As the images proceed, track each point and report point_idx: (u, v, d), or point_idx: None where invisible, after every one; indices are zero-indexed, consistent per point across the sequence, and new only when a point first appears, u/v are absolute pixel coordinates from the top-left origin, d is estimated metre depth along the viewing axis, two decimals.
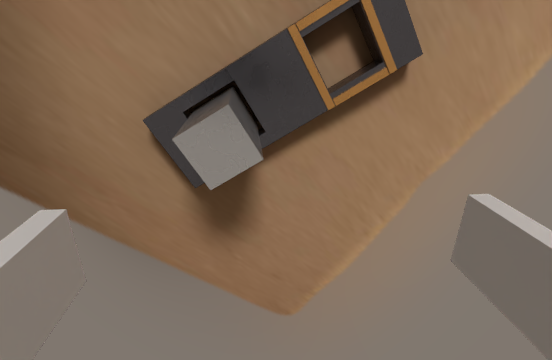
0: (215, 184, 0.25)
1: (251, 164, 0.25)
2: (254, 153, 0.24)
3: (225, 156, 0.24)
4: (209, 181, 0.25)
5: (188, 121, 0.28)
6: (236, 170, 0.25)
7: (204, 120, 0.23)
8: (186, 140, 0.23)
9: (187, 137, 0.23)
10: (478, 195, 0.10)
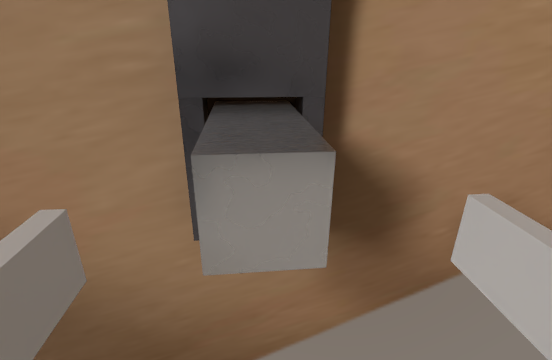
0: (321, 255, 0.13)
1: (329, 178, 0.11)
2: (311, 161, 0.11)
3: (283, 214, 0.12)
4: (309, 260, 0.13)
5: None
6: (322, 210, 0.12)
7: (198, 211, 0.11)
8: (218, 257, 0.12)
9: (214, 253, 0.12)
10: (478, 195, 0.10)
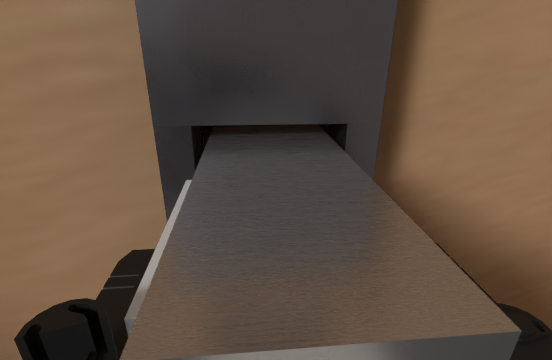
0: None
1: None
2: (453, 354, 0.04)
3: None
4: None
5: None
6: None
7: None
8: None
9: None
10: None
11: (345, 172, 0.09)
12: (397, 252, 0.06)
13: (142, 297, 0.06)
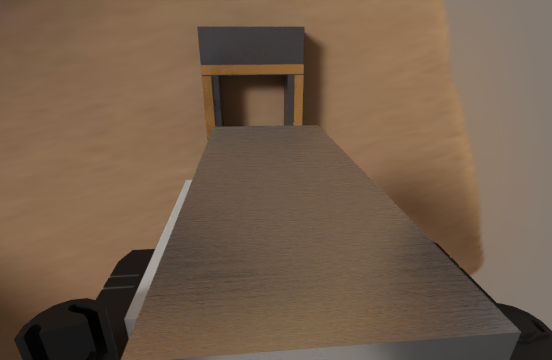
0: None
1: None
2: (453, 355, 0.04)
3: None
4: None
5: None
6: None
7: None
8: None
9: None
10: None
11: (345, 173, 0.09)
12: (397, 253, 0.06)
13: (142, 297, 0.06)
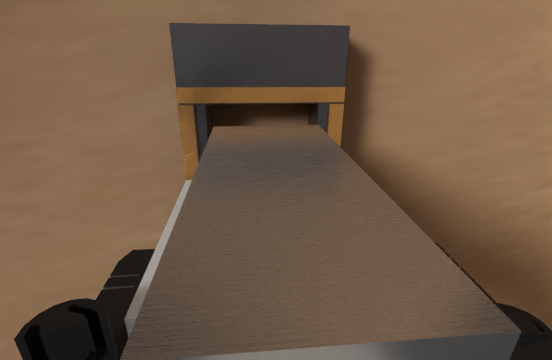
0: None
1: None
2: (453, 355, 0.04)
3: None
4: None
5: None
6: None
7: None
8: None
9: None
10: None
11: (345, 172, 0.09)
12: (397, 252, 0.06)
13: (142, 297, 0.06)
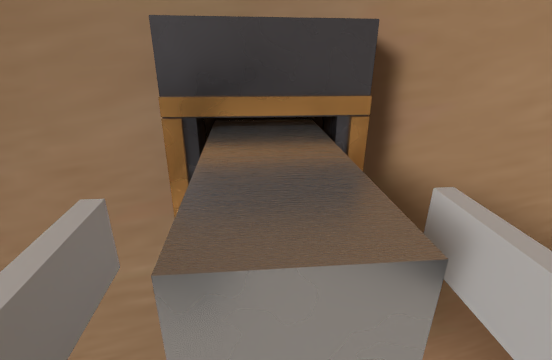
0: None
1: (429, 305, 0.06)
2: (398, 278, 0.05)
3: None
4: None
5: None
6: (407, 354, 0.06)
7: None
8: None
9: None
10: (443, 188, 0.11)
11: (331, 156, 0.11)
12: (365, 212, 0.07)
13: None
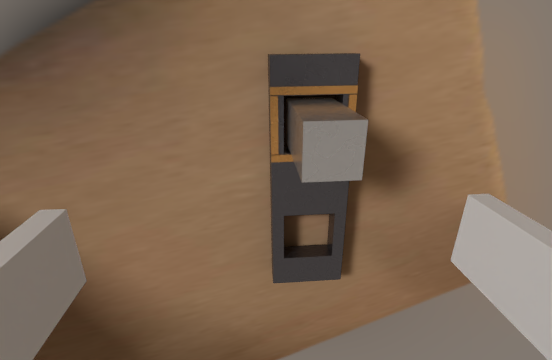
0: (360, 173, 0.25)
1: (365, 133, 0.24)
2: (357, 124, 0.24)
3: (342, 150, 0.25)
4: (354, 175, 0.25)
5: (294, 157, 0.29)
6: (360, 148, 0.25)
7: (303, 148, 0.24)
8: (310, 172, 0.25)
9: (308, 170, 0.25)
10: (478, 195, 0.10)
11: (340, 107, 0.29)
12: (350, 115, 0.25)
13: None
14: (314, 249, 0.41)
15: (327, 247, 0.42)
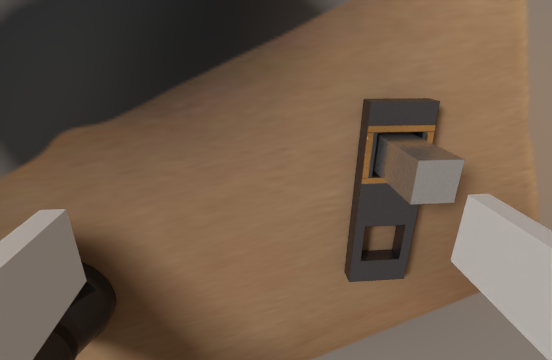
0: (453, 197, 0.34)
1: (461, 168, 0.33)
2: (456, 162, 0.32)
3: (443, 181, 0.33)
4: (448, 199, 0.34)
5: (392, 182, 0.38)
6: (456, 180, 0.33)
7: (415, 179, 0.33)
8: (417, 197, 0.34)
9: (416, 195, 0.33)
10: (478, 195, 0.10)
11: (429, 144, 0.37)
12: (446, 154, 0.34)
13: None
14: (383, 253, 0.50)
15: (393, 252, 0.50)
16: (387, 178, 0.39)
